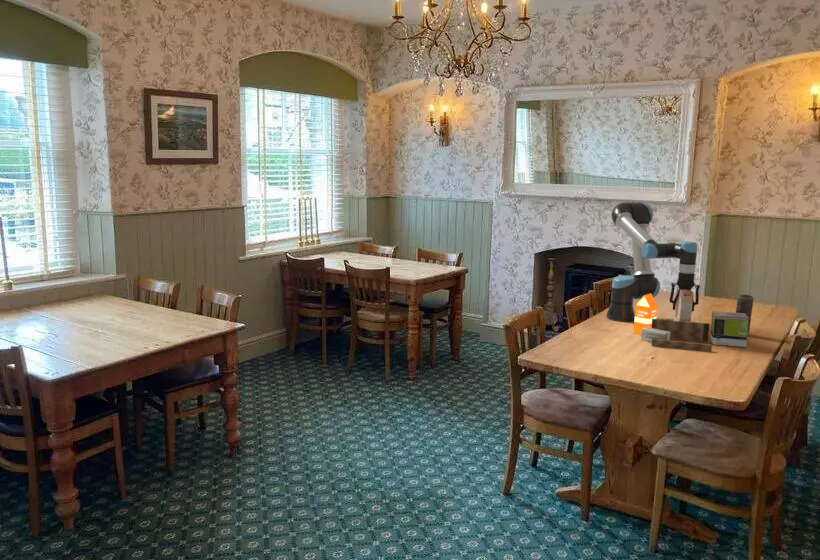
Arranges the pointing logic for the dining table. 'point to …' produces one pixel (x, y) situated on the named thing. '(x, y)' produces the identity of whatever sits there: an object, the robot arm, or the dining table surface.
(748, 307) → the candle
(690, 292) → the cracker box
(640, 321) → the orange juice
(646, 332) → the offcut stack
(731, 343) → the tea box
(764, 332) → the dining table surface
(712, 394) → the dining table surface
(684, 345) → the walnut rack
